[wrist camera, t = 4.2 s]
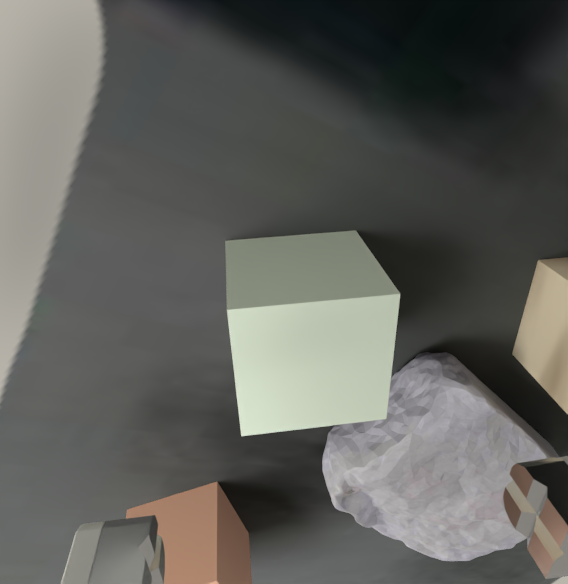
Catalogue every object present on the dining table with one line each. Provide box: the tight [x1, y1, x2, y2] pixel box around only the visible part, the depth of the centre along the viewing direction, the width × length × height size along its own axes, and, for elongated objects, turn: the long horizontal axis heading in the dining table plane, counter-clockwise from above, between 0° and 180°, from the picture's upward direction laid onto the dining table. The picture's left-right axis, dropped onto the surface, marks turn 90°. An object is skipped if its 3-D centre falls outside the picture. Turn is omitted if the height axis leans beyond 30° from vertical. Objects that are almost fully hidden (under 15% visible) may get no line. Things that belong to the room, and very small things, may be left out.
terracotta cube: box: [126, 482, 252, 584], centre depth 23 cm, size 5×5×5 cm
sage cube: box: [225, 231, 400, 436], centre depth 16 cm, size 5×5×5 cm
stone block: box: [322, 352, 559, 561], centre depth 23 cm, size 12×5×10 cm
